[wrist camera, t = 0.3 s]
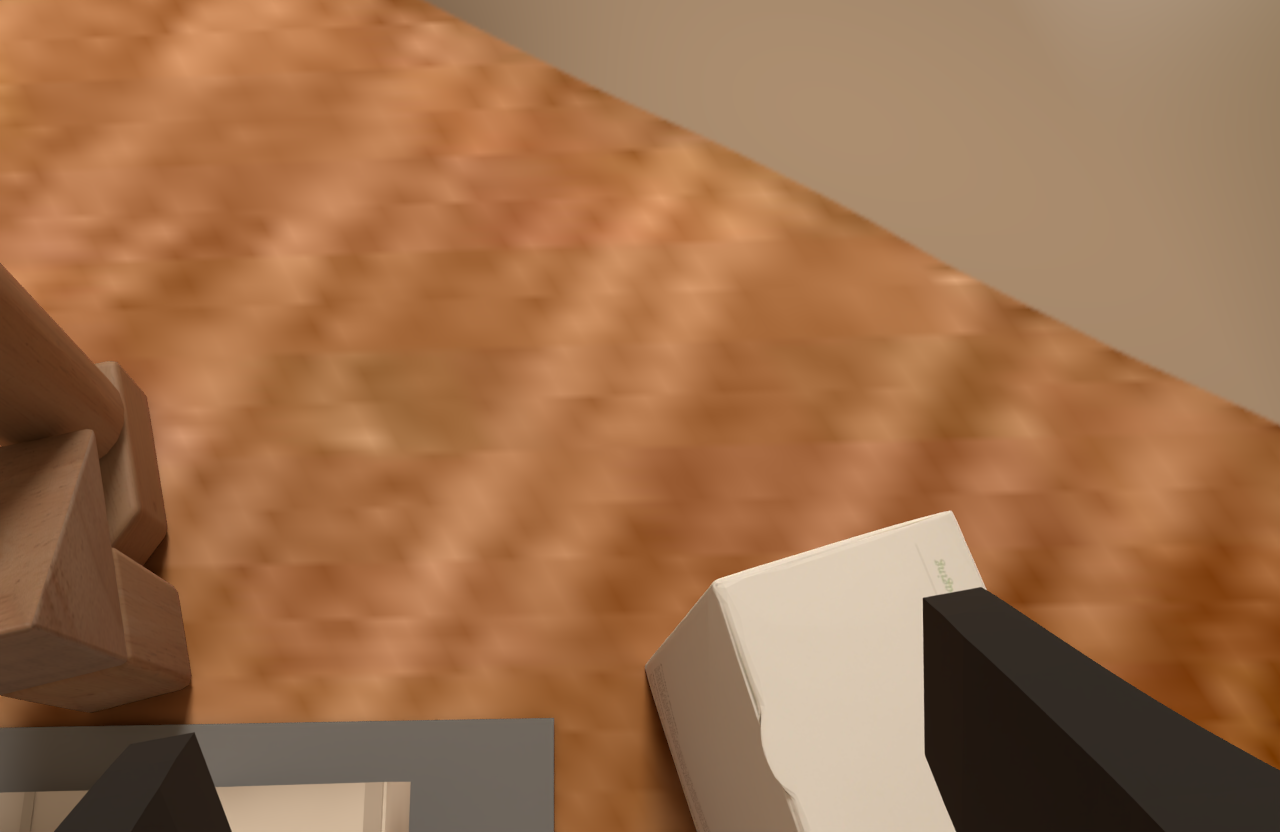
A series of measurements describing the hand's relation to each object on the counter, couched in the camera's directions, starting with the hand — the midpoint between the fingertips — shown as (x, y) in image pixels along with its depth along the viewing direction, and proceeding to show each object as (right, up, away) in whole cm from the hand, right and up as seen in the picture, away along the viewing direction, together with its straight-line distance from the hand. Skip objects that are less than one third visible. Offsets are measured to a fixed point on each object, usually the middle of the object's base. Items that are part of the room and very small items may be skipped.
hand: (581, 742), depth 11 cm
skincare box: (+5, -8, +29) cm, 30 cm away
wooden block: (-17, -1, +28) cm, 33 cm away
